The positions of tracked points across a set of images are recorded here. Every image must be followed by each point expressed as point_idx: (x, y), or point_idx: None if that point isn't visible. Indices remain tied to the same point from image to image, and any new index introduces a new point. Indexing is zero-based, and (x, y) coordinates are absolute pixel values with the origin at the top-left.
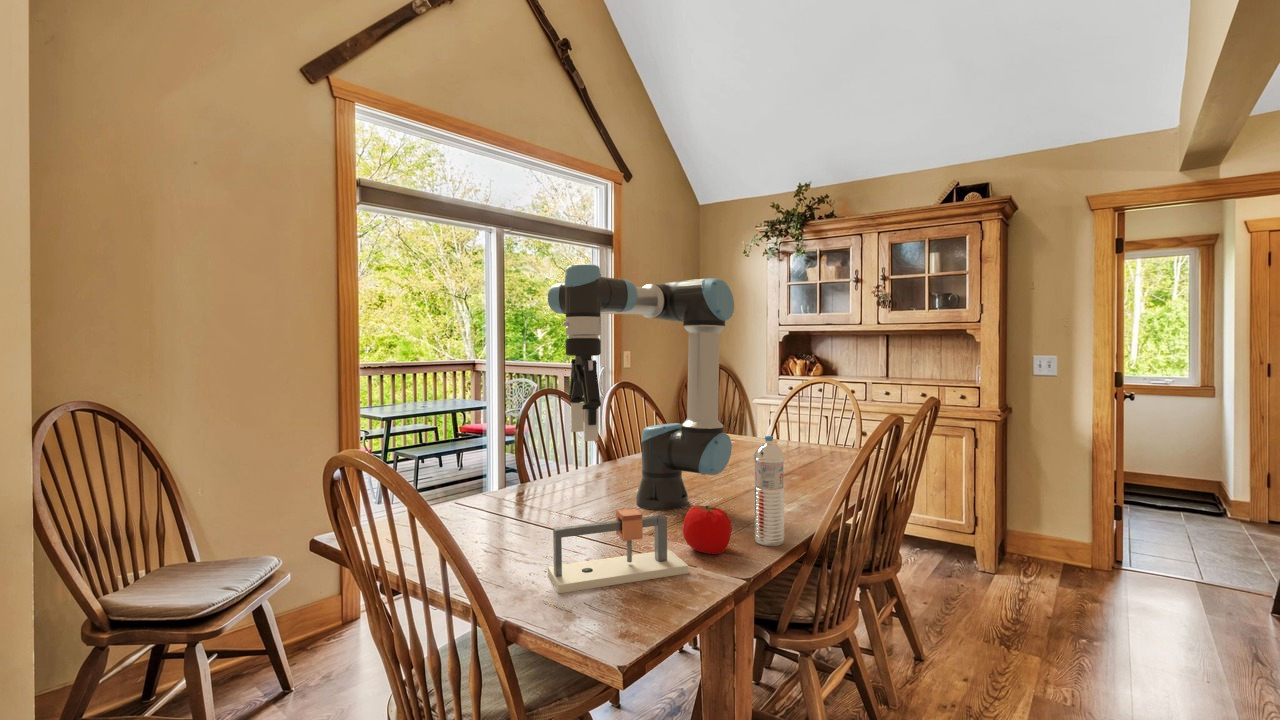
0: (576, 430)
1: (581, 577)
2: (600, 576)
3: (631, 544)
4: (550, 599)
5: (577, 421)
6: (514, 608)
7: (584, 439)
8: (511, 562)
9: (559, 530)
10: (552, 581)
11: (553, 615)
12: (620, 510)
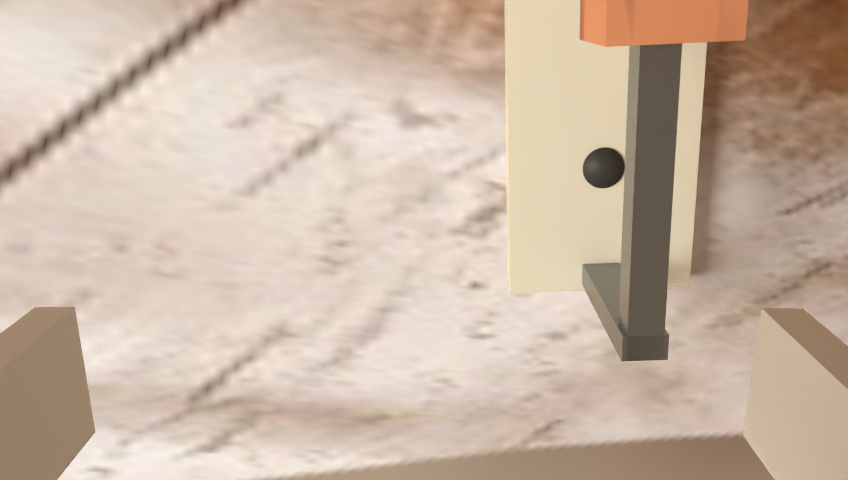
0: (82, 394)
1: None
2: (680, 134)
3: None
4: (712, 305)
5: (18, 442)
6: (725, 406)
7: (753, 442)
8: (352, 380)
9: (666, 341)
10: None
11: (824, 314)
12: (627, 24)
